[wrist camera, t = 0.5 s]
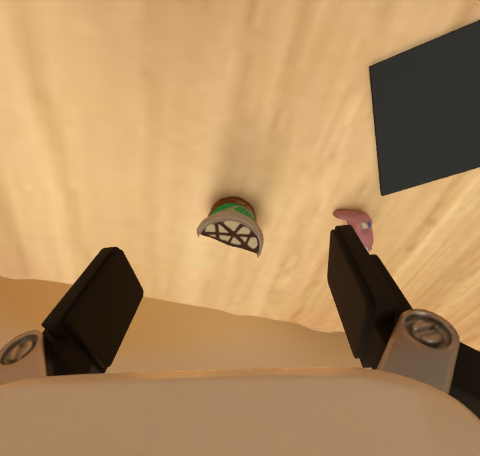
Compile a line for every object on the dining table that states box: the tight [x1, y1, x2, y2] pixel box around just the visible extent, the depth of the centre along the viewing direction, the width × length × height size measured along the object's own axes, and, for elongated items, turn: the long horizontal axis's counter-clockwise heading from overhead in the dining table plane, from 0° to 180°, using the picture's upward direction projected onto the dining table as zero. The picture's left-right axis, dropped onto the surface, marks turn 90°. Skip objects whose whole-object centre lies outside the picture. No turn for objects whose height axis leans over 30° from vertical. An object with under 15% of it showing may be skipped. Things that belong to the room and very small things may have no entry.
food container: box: [197, 197, 264, 257], centre depth 45 cm, size 12×6×10 cm, turn 68°
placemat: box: [369, 20, 480, 196], centre depth 39 cm, size 22×18×1 cm
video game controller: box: [333, 210, 373, 252], centre depth 49 cm, size 10×5×7 cm, turn 17°
